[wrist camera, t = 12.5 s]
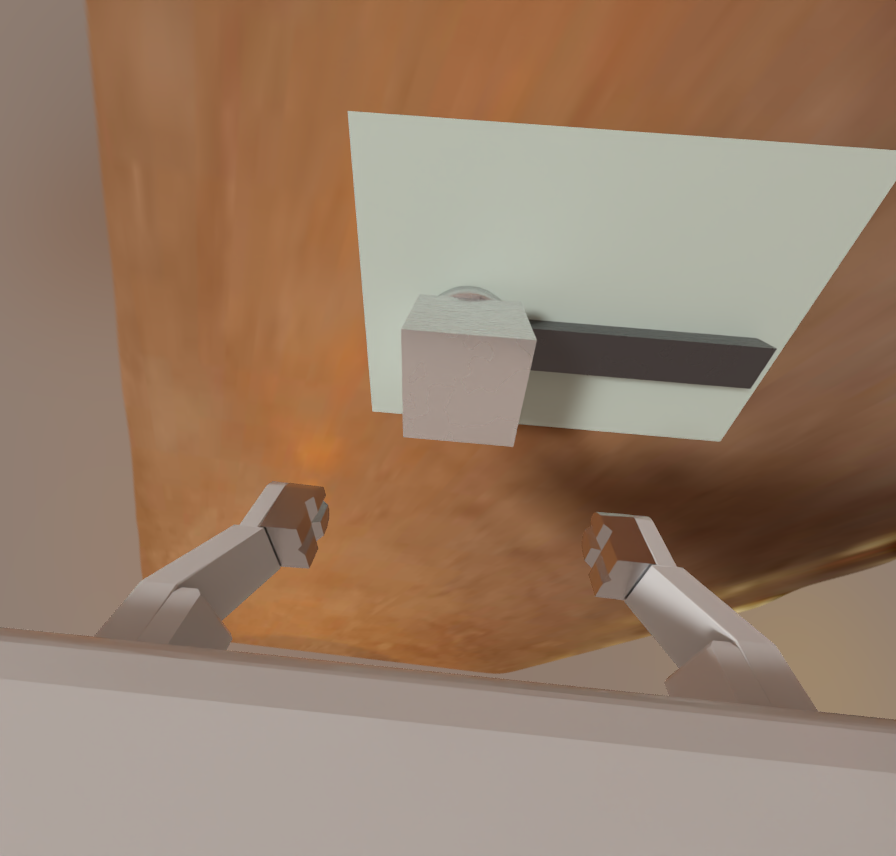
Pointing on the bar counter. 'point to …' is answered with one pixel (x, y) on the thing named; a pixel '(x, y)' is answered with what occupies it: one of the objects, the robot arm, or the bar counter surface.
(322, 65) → the bar counter surface
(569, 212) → the mat
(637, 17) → the bar counter surface
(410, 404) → the grey box
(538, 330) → the lever
